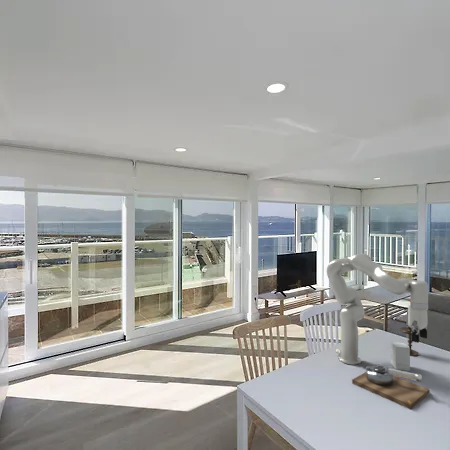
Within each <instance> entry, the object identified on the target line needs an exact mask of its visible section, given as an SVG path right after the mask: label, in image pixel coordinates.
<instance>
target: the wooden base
mask: <svg viewBox="0 0 450 450" xmlns="http://www.w3.org/2000/svg"><path fill="white" fill-rule="evenodd" d="M351 382H352V384H353V385H354V386H356V387H359V388H362V389H364V390H366V391H369V392H371V393H373V394H375V395H377V396H379V397H382V398H384V399H386V400H388V401H391V402H393V403H396V404H397V405H399V406H402V407H404V408H407V409H409V410H412V409H413V408H414V407H415V406H416V405H418V404H419V403H420V402H421V401H423V400H424V399H425V398H426V397H428V396H429V395H430V393H431V392H430V390H431V389H430V388H427V387H424V386H421V385H419V384H416V383H414V382H412V381H409V380H407V379H405V378H402V377H397V376H393V384H392V385H390V386H381V385H377V384H374V383H372V382H370V381H369V380H367V378H366V371H365V372H363V373H362V374H360V375H357V376H355V377H354V378H352V379H351Z"/></svg>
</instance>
